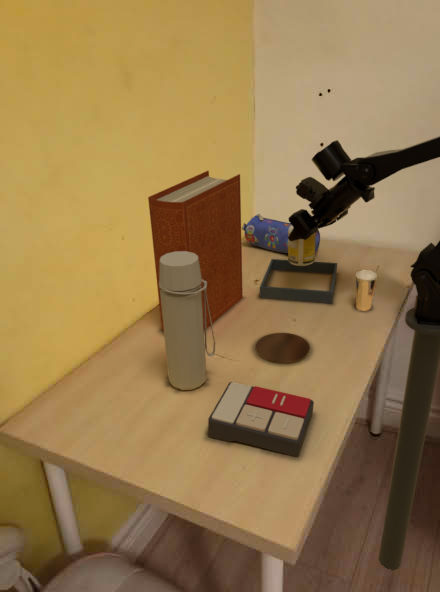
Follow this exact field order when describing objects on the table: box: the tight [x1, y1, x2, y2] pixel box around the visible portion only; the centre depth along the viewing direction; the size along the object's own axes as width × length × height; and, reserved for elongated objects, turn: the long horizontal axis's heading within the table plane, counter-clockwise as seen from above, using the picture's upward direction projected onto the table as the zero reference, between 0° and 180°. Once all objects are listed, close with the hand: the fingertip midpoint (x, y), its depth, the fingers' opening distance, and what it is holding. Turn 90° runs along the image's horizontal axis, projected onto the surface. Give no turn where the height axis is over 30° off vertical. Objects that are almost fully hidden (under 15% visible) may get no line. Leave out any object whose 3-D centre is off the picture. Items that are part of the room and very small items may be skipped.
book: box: [147, 170, 243, 333], centre depth 117 cm, size 23×8×30 cm, turn 149°
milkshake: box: [355, 265, 380, 312], centre depth 122 cm, size 4×5×10 cm
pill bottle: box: [287, 214, 316, 266], centre depth 129 cm, size 6×6×12 cm
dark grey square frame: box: [259, 258, 338, 305], centre depth 135 cm, size 17×17×3 cm
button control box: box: [207, 381, 315, 458], centre depth 89 cm, size 11×4×15 cm
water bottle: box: [159, 251, 216, 391], centre depth 96 cm, size 9×8×25 cm
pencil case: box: [241, 213, 321, 254], centre depth 154 cm, size 22×9×10 cm, turn 53°
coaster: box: [255, 332, 311, 365], centre depth 110 cm, size 11×11×1 cm
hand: (296, 235), depth 130 cm, fingers closed on pill bottle, 6 cm apart
